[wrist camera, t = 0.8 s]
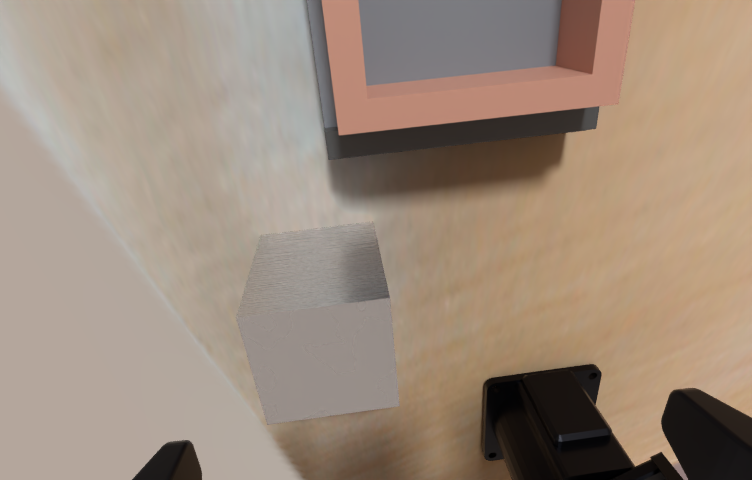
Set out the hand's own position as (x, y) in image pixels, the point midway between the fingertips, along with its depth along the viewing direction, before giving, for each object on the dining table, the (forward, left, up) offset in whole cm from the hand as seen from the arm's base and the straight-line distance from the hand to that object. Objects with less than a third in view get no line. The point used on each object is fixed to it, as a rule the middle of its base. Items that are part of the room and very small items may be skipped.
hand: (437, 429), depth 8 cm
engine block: (-4, +3, -12) cm, 13 cm away
